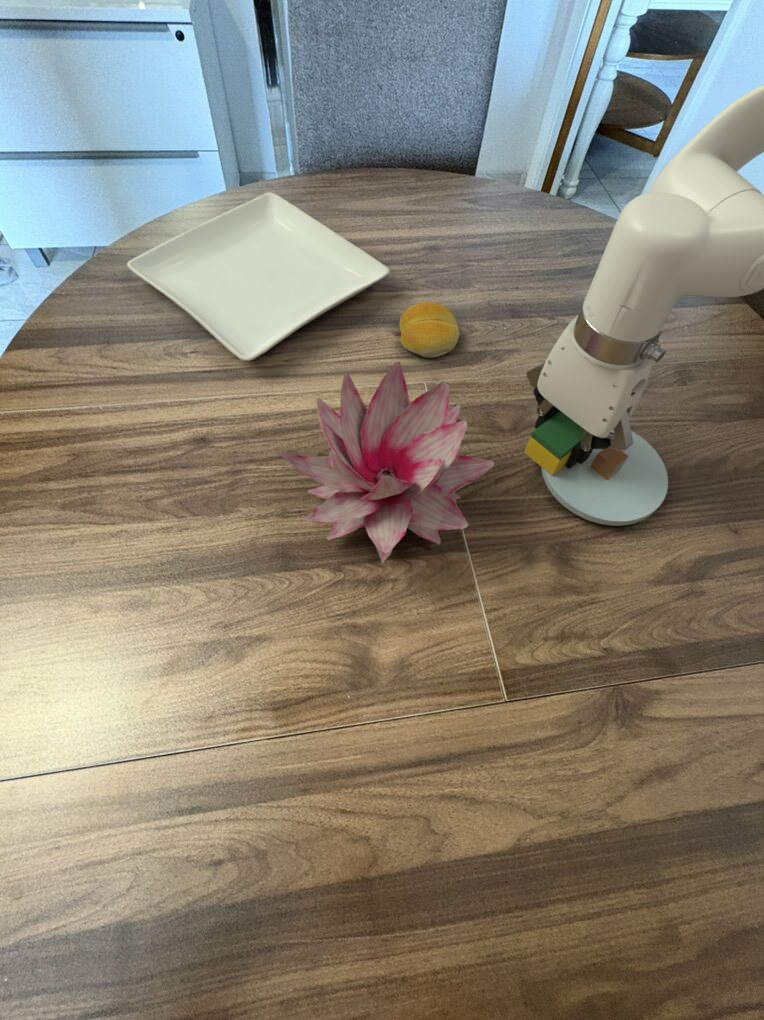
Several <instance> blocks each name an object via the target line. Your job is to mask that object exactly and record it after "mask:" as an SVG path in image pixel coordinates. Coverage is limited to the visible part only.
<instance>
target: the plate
mask: <svg viewBox="0 0 764 1020" xmlns="http://www.w3.org/2000/svg"><path fill="white" fill-rule="evenodd" d="M612 433H614V430H613V431H612ZM631 433H632V439H633V444H632V445H631V446H630V447H629V448H627V449H626V450H624V451H623V450H621V451H623V452H624V453H625V454H626V455H628V456H629V457H628V458H627V460H626V461H625V463H624V464H623V466H622V468H621V469H620V470H619V471H618V472H617V473H615V474H614V475H613V476H612V477H611V478H609V479H608V480H606V479H605V478H604V477H603V476H601V475H600V474H599V473H598V472H596V471H595V470H594V469H593V468H591V467H590V466H591V464H592V463H593V461H594V459H595V457H596V456H597V454H598V453H599V452H600V451H601V450H603V449H593V451H592V452H591V454H590V456H589V458H588V459H587V460H586V461H585V462H584V463H583V464H579V463H578V462H577V463H576V464H575V465H574V466H572V467H571V468H570V469H569V468H568V467H566V465H565V466H564V467H563V468H561V469H560V470H559V471H558V472H556V473H555V474H554V475H553V476H552V475H551V474H549V473H548V472H547V471H546V470H545V469H543V468H542V467H541V466H540V469H541V475H542V478H543V481H544V484H545V485H546V487H547V489H548V490H549V492H550V494H551V495H552V496H553V497H554V498H555V500H556V501H557V502H559V503H560V505H562V506H563V507H564V508H566V509H567V510H568V511H569V512H571V513H573V514H574V515H576V516H578V517H580V518H581V519H583V520H586V521H589V522H592V523H595V524H600V525H606V526H613V527H614V526H617V527H619V526H629V525H633V524H636V523H639V522H642V521H644V520H646V519H648V518H649V517H650V516H652V515H653V514H654V513H655V512H656V511H657V510H658V509H659V508H660V506H661V505H662V503H663V502H664V501H665V498H666V496H667V493H668V489H669V477H668V476H669V475H668V471H667V468H666V466H665V463H664V461H663V459H662V458H661V456H660V455H659V453H658V452H657V450H656V449H655V448H654V447H653V446H652V445H651V444H650V443H649V442H648V441H647V440H646V439H644V438H643V437H642V436H640V435H639V434H638V433H636V432H634V431H632V430H631Z"/></svg>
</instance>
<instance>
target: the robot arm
mask: <svg viewBox="0 0 764 1020" xmlns="http://www.w3.org/2000/svg"><path fill="white" fill-rule="evenodd" d="M763 153H764V84H762V85H760V86H758V87H756V88H754V89H752V90H750V91H748V92H747V93H745V94H744V95H741V96H740V97H739V98H737V99H736V100H735V101H733V102H731V103H730V104H728V105H727V106H726V107H725V108H724V109H722V110H721V111H720V112H719V113H717V114H716V115H715V116H714V117H713V118H712V119H711V120H709V122H708V123H707V124H705V126H703V128H702V129H700V131H698V132H697V133H696V134H695V135H694V136H693V137H692V138H691V139H690V140H689V141H688V142H687V143H686V144H685V145H684V146H683V147H682V148H681V149H680V150H679V151H678V152H677V153H676V154H675V155H674V156H673V157H672V158H671V159H670V160H669V161H668V163H667V164H666V165H665V166H664V168H663V169H662V170H661V171H660V172H659V173H658V174H657V177H656V178H655V179H654V180H653V183H652V184H651V186H650V188H649V190H648V192H646V193H643V194H640V195H638V196H635V197H634V198H633V199H631V200H630V201H628V203H627V204H626V205H625V206H624V207H623V209H622V210H621V212H620V213H619V216H618V218H617V220H616V221H615V225H614V227H613V230H612V232H611V234H610V237H609V240H608V242H607V244H606V247H605V249H604V252H603V254H602V257H601V259H600V262H599V263H598V266H597V269H596V271H595V274H594V276H593V279H592V281H591V284H590V286H589V288H588V290H587V292H586V296H585V298H584V301H583V303H582V305H581V308H580V310H579V313H578V315H576V317H574V318H573V319H572V320H571V321H570V322H569V324H568V325H567V326H566V327H565V329H564V330H563V331H562V333H561V334H560V336H559V338H558V339H557V341H556V342H555V344H554V345H553V347H552V349H551V351H550V353H549V355H548V356H547V358H546V361H545V362H544V363H542V364H539V365H537V366H534V367H533V368H531V369H529V370H528V371H527V372H526V375H525V376H526V378H527V380H528V381H529V383H530V386H531V388H533V395H534V397H535V401H536V403H537V408H536V413H537V414H538V416H537V419H536V422H535V424H534V429H537V428H538V427H539V426H541V425H542V424H543V423H545V422H546V421H548V420H549V419H550V418H552V417H553V416H554V415H556V414H557V413H558V412H560V411H561V412H563V413H564V414H565V415H566V416H568V417H569V418H570V419H572V420H573V421H574V422H576V423H577V424H578V425H580V426H581V427H582V428H584V429H583V434H582V440H581V441H580V442H579V443H577V444H576V445H575V447H574V449H573V450H572V452H571V454H570V456H569V458H568V460H567V462H566V467H568V468H569V469H570V468H571V467H572V466H574V465H575V464H576V463H577V462H578V463H579V464H583V463H584V462H585V461H586V460H587V459H588V458H589V456H590V454H591V452H592V451H593V449H607V448H611V449H616V450H623V451H624V450H626V449H627V448H629V447H630V446H631V445H632V444H633V439H632V433H631V431H632V428H631V423H630V418H631V417H632V415H633V413H634V412H635V410H636V408H637V406H638V403H639V402H640V400H641V397H642V395H643V393H644V390H645V388H646V386H647V383H648V381H649V378H650V375H651V372H652V369H653V365H654V363H656V364H657V363H658V362H660V361H661V360H662V359H663V357H664V356H665V354H666V353H667V350H666V349H664V347H662V346H661V344H660V343H659V342H660V337H661V335H662V333H663V332H662V331H661V330H662V329H663V327H664V325H665V323H666V321H667V320H668V318H669V317H670V315H671V313H672V311H673V309H674V307H675V306H676V303H677V302H678V300H679V299H680V298H682V297H705V298H739V297H744V296H748V295H752V294H755V293H757V292H760V291H762V290H764V194H762V192H761V191H760V190H759V189H758V188H756V187H755V186H754V185H753V184H752V183H751V182H750V181H748V180H747V179H746V178H745V177H744V176H743V175H741V174H740V173H738V171H740V170H741V169H742V168H743V167H745V166H746V165H747V164H749V162H751V161H752V160H753V159H755V158H756V157H759V156H760V155H762V154H763ZM613 430H614V433H612V431H613Z"/></svg>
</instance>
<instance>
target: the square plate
mask: <svg viewBox="0 0 764 1020" xmlns="http://www.w3.org/2000/svg"><path fill="white" fill-rule="evenodd" d="M125 265H126V267H127V268H128V269H129V270H130V271H131V272H132V273H133V274H134V275H136V276H137V277H139V278H140V279H141V280H142V281H144V282H146V283H147V284H149V285H150V286H152V287H153V288H154V289H155V290H157V291H159V292H160V293H161V294H163V295H164V296H165V297H166V298H168V299H169V300H171V301H172V302H173V303H174V304H176V305H177V306H178V307H179V308H181V309H182V310H183V311H185V313H187V314H188V315H189V316H190V317H192V318H193V319H194V320H195V321H196V322H197V323H198V324H200V325H201V327H203V328H204V329H205V330H206V331H207V332H208V333H209V334H211V336H213V337H214V338H215V339H216V340H217V341H218V342H219V343H220V344H221V345H222V346H223V347H224V348H226V349H227V350H228V351H229V352H230V353H231V354H233V355H234V356H235V357H237V359H239V360H240V361H242V362H249V361H253V360H254V359H257V358H258V357H260V356H261V355H263V354H264V353H267V352H268V351H269V350H270V349H272V348H273V347H275V346H276V345H278V344H279V343H281V342H282V341H283V340H284V339H286V338H288V337H289V336H290V335H292V334H293V333H295V332H296V331H298V330H299V329H301V328H302V327H304V326H306V325H307V324H309V323H310V322H312V321H314V320H315V319H317V318H319V317H320V316H321V315H323V314H325V313H326V312H328V311H330V310H332V309H333V308H335V307H337V306H339V305H340V304H342V303H344V302H345V301H348V300H349V299H352V298H353V297H355V296H356V295H358V294H360V293H361V292H363V291H365V290H366V289H368V288H369V287H371V286H373V285H374V284H376V283H378V282H379V281H381V280H383V279H385V277H387V276H388V275H389V274H390V273H391V272H390V271H391V270H390V269H389V267H388V266H386V265H385V264H384V263H382V262H380V261H379V260H377V259H376V258H374V257H373V256H372V255H370V254H369V253H367V252H366V251H364V250H363V249H361V248H359V247H358V246H357V245H355V244H353V243H352V242H350V241H349V240H347V239H346V238H344V237H343V236H342V235H340V234H338V233H337V232H335V231H334V230H332V229H330V228H329V227H328V226H326V225H324V224H323V223H321V222H320V221H318V220H316V219H315V218H313V217H312V216H310V215H309V214H307V213H306V212H305V211H303V210H301V209H300V208H298V207H296V206H295V205H293V204H292V203H290V202H289V201H287V200H285V199H284V198H283V197H281V196H279V195H277V194H276V193H275V192H265V193H263V194H261V195H258V196H257V197H254V198H252V199H250V200H247V201H245V202H243V203H241V204H240V205H237V206H235V207H233V208H231V209H229V210H227V211H225V212H222V213H220V214H219V215H217V216H214V217H213V218H210V219H208V220H206V221H204V222H202V223H200V224H198V225H196V226H194V227H192V228H190V229H188V230H186V231H184V232H182V233H180V234H178V235H176V236H174V237H172V238H170V239H168V240H166V241H164V242H162V243H160V244H158V245H157V246H154V247H152V248H150V249H149V250H146V251H145V252H143V253H140V254H138V255H137V256H135V257H133V258H131V259H130V260H128V261H127V262H126V264H125Z"/></svg>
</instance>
